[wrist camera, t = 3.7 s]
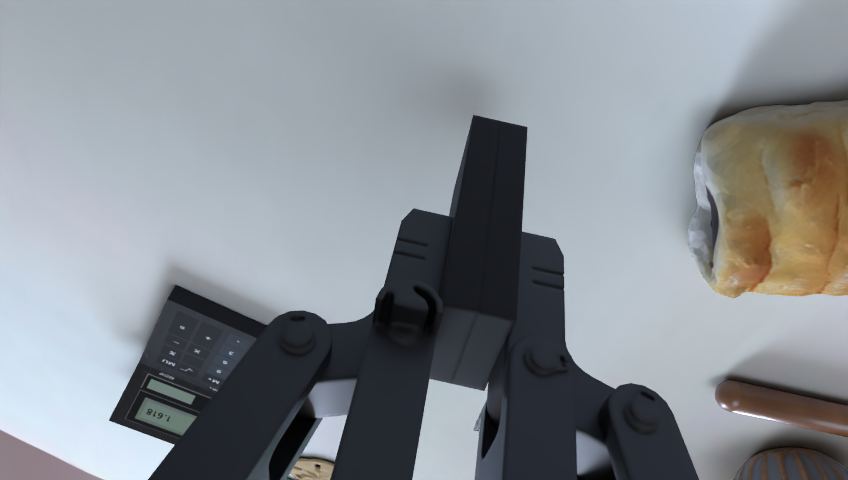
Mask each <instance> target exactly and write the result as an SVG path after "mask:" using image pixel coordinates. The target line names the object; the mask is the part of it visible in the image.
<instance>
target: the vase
mask: <svg viewBox="0 0 848 480" xmlns="http://www.w3.org/2000/svg"><path fill="white" fill-rule="evenodd" d="M734 480H848V468H847V467H845V466H844V465H843V464H841V463H839V462H837V461H836V460H834V459H832V458H831V457H829V456H827V455H825V454H823V453H820V452H818V451H814V450H810V449H804V448H778V449H772V450H767V451H764V452H761V453H758V454H756V455H754V456H753V457H751V458H750V459H749V460H748V461H747V462H746V463H745V464H744V465H743V466H742V468H741V469H740V470H739V471H738V473H737V475H736V476H735V478H734Z"/></svg>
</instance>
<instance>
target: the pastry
mask: <svg viewBox="0 0 848 480" xmlns="http://www.w3.org/2000/svg"><path fill="white" fill-rule="evenodd" d="M693 174H694V179H695V192H696V198H697V202H698V206H697V208H696V210H695V213H694V214H693V215H692V217H691V220H690V223H689V227H688V233H689V241H688V245H689V249H690V252H691V255H692V257H693V259H694V261H695V262H696V264H697V266H698V268H699V270H700V272H701V274H702V276H703V278H704V279H705V281H706V282H707V283H708V285H709V286H710V287H711V288H712V289H713V290H714V291H715V292H717V293H719V294H722V295H725V296H728V297H731V298H736V297H738V296H740V295H741V294H742V293H743V292H753V293H763V294H776V295H787V296H806V295H811V294H826V295H833V296H842V295H848V100H840V101H831V102H829V101H815V102H813V103H812V104H807V105H795V106H786V105H772V106H760V107H754V108H750V109H747V110H743V111H741V112H739V113H737V114H735V115H732V116H730V117H727V118H724V119H722V120H719V121H717V122H716V123H714V124H712V125H711V126H710V127H708V128H707V129H706V130H705V131H704V134H703V137H702V140H701V142H700V145H699V147H698V150H697V152H696V156H695V161H694V170H693Z"/></svg>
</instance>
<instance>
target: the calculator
mask: <svg viewBox="0 0 848 480" xmlns="http://www.w3.org/2000/svg"><path fill="white" fill-rule="evenodd" d="M266 327H267V326H265V325H263V324H260V323H258V322H256V321H254V320H251V319H249V318H247V317H245V316H242V315H240V314H238V313H236V312H233V311H231V310H229V309H227V308H225V307H222V306H220V305H218V304H216V303H213V302H211V301H209V300H207V299H204V298H202V297H200V296H198V295H195V294H193V293H191V292H189V291H186V290H184V289H182V288H180V287H178V286H175V287H174V289H173V291H172V292H171V294H170V296H169V298H168V299H167V301H166V304H165V306H164V308H163V310H162V313H161V315H160V317H159V319H158V321H157V324H156V326H155V328H154V330H153V332H152V335H151V337H150V339H149V341H148V344H147V346H146V348H145V350H144V352H143V355H142V357H141V359H140V361H139V363H138V365H137V367H136V369H135V371H134V373H133V375H132V377H131V379H130V381H129V383H128V385H127V387H126V388H125V390H124V392H123V394H122V396H121V398H120V400H119V402H118V404H117V406H116V408H115V410H114V412H113V414H112V415H111V417H110V419H109V421H112V422H115V423H117V424H120V425H123V426H125V427H128V428H131V429H134V430H136V431H139V432H142V433H144V434H147V435H150V436H153V437H155V438H158V439H161V440H163V441H166V442H169V443H172V444H174V445H175V444H176V443H177V442H178V440H179V439H180V438H181V437H182V435H183V434H184V433H185V431H186V430H187V429H188V428H189V426H190V425H191V424H192V422H193V421H194V420H195V419H196V417H197V416H198V415H199V413H200V412H201V411H202V409H203V408H204V407H205V406H206V404H207V403H208V402H209V400H210V399H211V398H212V397H213V395H214V394H215V393H216V391H217V390H218V389H219V388H220V386H221V385H222V384H223V382H224V381H225V380H226V378H227V377H228V376H229V375H230V373H231V372H232V371H233V369H234V368H235V367H236V366H237V364H238V363H239V362H240V360H241V359H242V358H243V357H244V355H245V354H246V353H247V351H248V350H249V349H250V347H251V346H252V345H253V344H254V342H255V341H256V340H257V338H258V337H259V336H260V335H261V333H262V332H263V331H264V329H265V328H266Z"/></svg>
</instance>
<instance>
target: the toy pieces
mask: <svg viewBox="0 0 848 480" xmlns="http://www.w3.org/2000/svg"><path fill="white" fill-rule="evenodd" d="M315 464H319V465H320V467H316V465H315ZM333 467H334V463H331V462H328V461H325V460H320V459H305V458H299V459H298V460H297V462H296V464H295V465H294V467H293V469H292V470H291V472H290V473H291V474H292V475H293V477H295V478H297V479H299V480H330V478H331V475H332V471H333ZM286 480H290V479H286Z"/></svg>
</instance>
